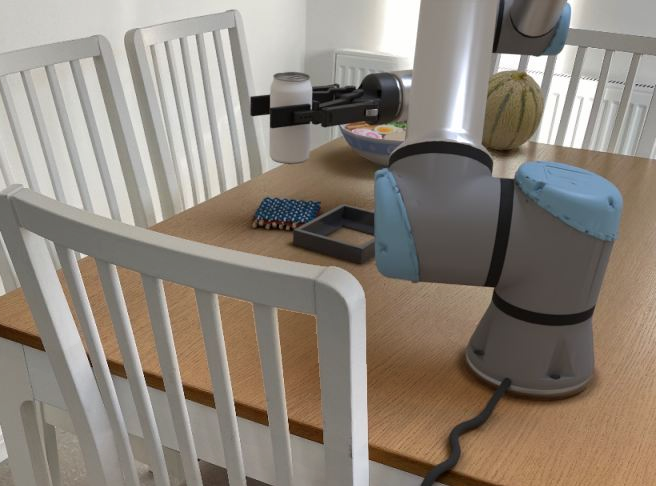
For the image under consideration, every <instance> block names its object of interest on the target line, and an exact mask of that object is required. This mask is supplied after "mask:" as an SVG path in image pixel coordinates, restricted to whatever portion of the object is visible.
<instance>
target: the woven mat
mask: <svg viewBox="0 0 656 486" xmlns="http://www.w3.org/2000/svg"><path fill="white" fill-rule="evenodd" d="M321 205H322V201H320V200H319V201H315V200H312V199H310V200H306V201H305V200H304V199H300V200H299V199H294V198H291V199H290V198H287V197H285V198H279V197H269V196H267V197H263V199H262V201H261V202H260V204H259V205H258V208H257V209H256V211H255V213H254V214H253V215H252V218H251V222H252V228H253V229H255V228H256V227H257V226H258V225H259V226H262V227H263V226H265V227H264V228H265V229H266V230H269V229H270V227H271V226H272V227H273V228H277V227H278V228H279V230H283V229H284V226H285V225H286V227H285V231H290V229H291V228H292V230H294V229H296V228H298V227H300V226H302V225H304V224H306V223H307V222H309V221H311V220H313V219H315V218H317V217H319V214H320V211H321V210H322V206H321Z"/></svg>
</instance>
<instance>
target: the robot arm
mask: <svg viewBox="0 0 656 486" xmlns="http://www.w3.org/2000/svg"><path fill="white" fill-rule="evenodd" d="M568 1H569V0H420V2H419V3H420V4H419V12H418V21H417V32H416V36H415V37H416V39H415V46H414V56H413V63H412V64H413V66H412V69H402V70H391V71H389V72H388V71H387V72H386V71H384V72H376V73H368V74H367V75H365V77H364V78H363V79H362V80H361V82H360V85H359V86H358V87H357V86H356V85H345V86H343V87H340V86H341V85H340V84H339V83H333V84H327V85H314V86H312V109H311V105H310V104H301V105H291V106H282V107H273V108H270V94H261V95H252V96H249V99H250V100H249V101H250V103H249V105H250V106H249V107H250V108H249V109H250V111H249V114H250V117H258V116H259V117H261V116H269V128H270V127H271V128H279V127H288V126H296V125H304V124H310V122H311V125H315V126H316V125H320V126H321V127H322V128H330V127H337V126H339V125H343V124H350V123H356V122H363V121H365V122H366V123H367V124H368V125H381V124H388V123H390V122H392V123H393V122H398V123H399V124H400V125H403V124H404V121H407V125H406V134H405V141H404V142H403V143H402V144H400V145H399V146H398V147H397V148H395V149H394V150H393V151H392V152H391V154H390V157H389V165H388V168H386V167H382V169H378V170H376V171H375V172H374V177H373V185H374V186H373V197H374V199H373V200H374V201H373V202H374V204H373V205H374V209H373V211H374V232H375V235H374V238H375V256H374V260H375V266H376V270H377V271H378V272H379V273H380V275H381V276H383V277H384V278H387V279H392V280H400V281H408V282H411V283H412V284H418V283H431V284H442V285H456V286H469V287H481V288H482V287H483V288H491V289H492V288H493V291H492V295H491V301H490V303H489V305H488V307H487V308H486V310H485V311H484V313H483V315H482V317H481V319H480V321H479V322H478V324H477V325H476V327H475V329H474V331H473V333H472V334H471V336H470V338H469V340H468V342H467V346H466V350H465V354H464V360H463V361H464V366H465V368H466V370H467V372H468V373H469V374H470V375H471V376H472V377H473V378H474V379H475V380H476V381H478V382H479V383H481V384H482V385H483V386H486V387H488V388H489V389H492V390H494V392H493V394H492V395H491V397H490V398H489V400H488V402H487V403H486V405H485V406H484V408H483V409H482V410H481V412H480V413H479V414H478V415H476V416H475V417H473V418H470V419H468V420H465V421H462V422H460V423H458V424H457V425H455V426H454V427H453V428H452V429H451V431H450V433H449V436H448V442H449V446H450V451H451V452H450V456H449V457H448V458H447V459H446V460H444V461H442V462H440V463H438V464H436V465H434V466H433V468H431V469H430V470H429V471H428V472H427V473H426V475H425V476H424V478H423V480H422V482H421V483H420V486H432V485H433V484H434V483H435V481H436V480H437V478H439V476H440V475H442V474H443V473H445V472H447V471H449V470H451V469H452V468H453V467H455V466H456V465H457V463H458V462H459V460H460V459H461V455H462V450H461V446H460V441H459V437H460V435H461V434H462V433H464V432H466V431H468V430H471V429H473V428H476V427H478V426H480V425H482V424H483V423H485V421H487V420H488V419H489V418H490V416H491V415H492V413H493V412H494V410H495V408H496V406H497V405H498V403H499V402H500V400H501V399H502V398H503V396H504V395H509V396H511V397H517V398H520V399H528V400H538V401H546V400H547V401H549V400H558V399H559V400H560V399H565V398H569V397H573V396H576V395H578V394H580V393H581V392H583V391H584V390H585V389H586V388H587V387H588V386H589V384H590V382H591V380H592V377H593V373H594V370H595V348H594V347H595V346H594V331H593V316H594V313H595V309H596V306H597V302H598V299H599V296H600V293H601V289H602V286H603V282H604V278H605V275H606V271H607V268H608V264H609V261H610V258H611V254H612V251H613V247H614V244H615V241H617V239H618V237H619V228H620V223H621V219H622V211H623V207H624V199H623V196H622V193H621V192H620V190H619V189H618V187H616V185H615V184H613V183H612V182H611V181H609V180H608V179H606V178H605V177H603V176H601V175H599V174H597V173H594V172H592V171H590V170H588V169H584V168H581V167H577V166H574V165H570V164H567V163H562V162H556V161H548V160H536V161H527V162H523V163H522V164H520V165H519V166H518V169H516V171H515V172H514V176H513V178H509V177H499V176H493V170H494V158H493V155H492V154H491V152H490V151H488V149H487V148H486V147H485V145H484V144H482V136H483V127H484V118H485V109H486V101H487V92H488V83H489V77H490V76H491V75H490V73H491V65H492V57H493V54H502V55H517V56H530V57H531V56H532V57H535V58H536V57H537V58H539V57H542V56H545V57H546V56H551V57H552V56H553V57H554V56H557V55H559V54H561V53H562V51H563V50H564V48H565V45H566V41H567V39H568V35H569V31H570V26H571V19H572V7H571V4H570V3H569V2H568Z"/></svg>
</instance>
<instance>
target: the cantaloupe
mask: <svg viewBox="0 0 656 486" xmlns="http://www.w3.org/2000/svg"><path fill="white" fill-rule="evenodd" d="M544 98H545V97H544V94H543V90H542V88H541V86H540V85H539V84H538V82H536V80H535V79H534V77H532V76H531V75H530V74H528V73H527V72H526V71H521V70H516V69H513V70H501V71H498V72H496V73H494V74H492V75H490V76H489V83H488V92H487V101H486V109H485V118H484V127H483V136H482V145H483V146H484V147H488V148H490V149H493V150H495V151H496V150H497V151H498V150H499V151H509V150H513V149H516V148H518V147H520V146H523V145H524V144H526V143H527V142H528V141H529V140H530V139H531V138H532V137H533V136H534V135H535V133H536V131H537V130H538V128H539V125H540V123H541V119H542V117H543V113H544V109H545V99H544Z"/></svg>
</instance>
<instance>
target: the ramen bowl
mask: <svg viewBox="0 0 656 486" xmlns="http://www.w3.org/2000/svg"><path fill="white" fill-rule="evenodd" d="M406 125H407V121H404V124H403V125H400V124H399V123H398V122H393V123H392V122H390V123H388V124H381V125H368V124H367V123H366V122H365V121H363V122H356V123H350V124H343V125H338V128H339V130H340V132H341V135H342V137H343V138H344V139H345V142H347V144H348V145H349V147H350V148H351V150H352V151H353V152H354V153H355V154H357V156H359V157H362V158H363V159H366V160H368V161H370V162H372V163H374V164H375V165H376V166H378V167H382V168H388V165H389V157H390V154H391V152H392V151H393V150H394V149H395V148H397V147H398V146H399V145H400V144H402V143H403V142H404V141H405V134H406Z"/></svg>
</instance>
